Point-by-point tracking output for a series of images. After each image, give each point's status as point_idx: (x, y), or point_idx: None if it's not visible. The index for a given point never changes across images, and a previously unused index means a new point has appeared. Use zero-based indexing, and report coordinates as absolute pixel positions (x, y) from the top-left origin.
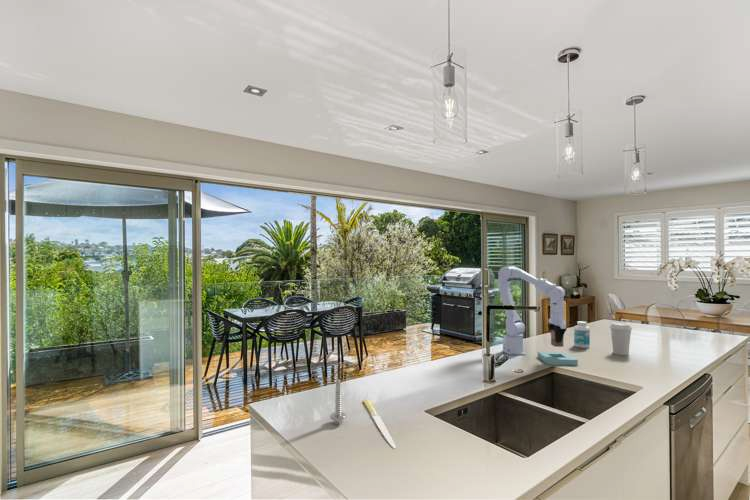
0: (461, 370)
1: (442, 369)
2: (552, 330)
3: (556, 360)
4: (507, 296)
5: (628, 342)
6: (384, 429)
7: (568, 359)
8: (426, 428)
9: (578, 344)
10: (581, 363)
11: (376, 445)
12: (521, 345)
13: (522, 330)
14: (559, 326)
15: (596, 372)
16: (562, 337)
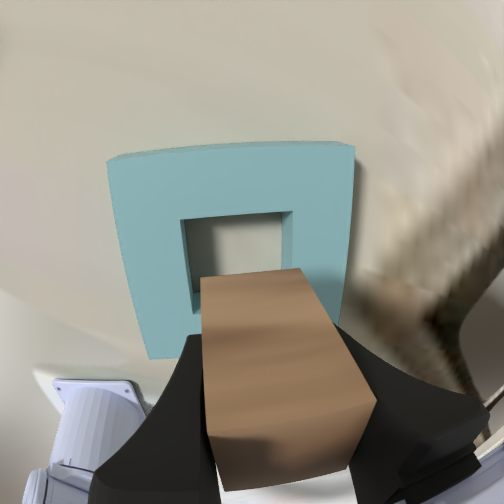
0: (350, 484)
1: (337, 499)
2: (275, 484)
3: (340, 291)
4: None
5: None
6: (484, 453)
7: (346, 215)
8: (498, 435)
9: None
10: (284, 88)
11: (497, 445)
12: (119, 433)
13: (72, 498)
14: (442, 496)
15: (452, 109)
16: (366, 352)
